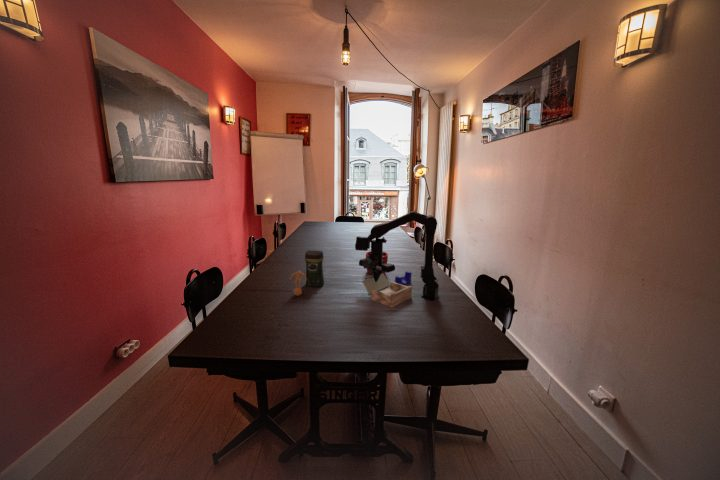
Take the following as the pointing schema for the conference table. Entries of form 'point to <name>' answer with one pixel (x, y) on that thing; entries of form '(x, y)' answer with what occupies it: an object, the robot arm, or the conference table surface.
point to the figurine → (298, 290)
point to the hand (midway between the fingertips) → (376, 281)
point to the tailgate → (376, 284)
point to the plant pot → (384, 258)
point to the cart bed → (392, 294)
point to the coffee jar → (314, 268)
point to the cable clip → (404, 279)
